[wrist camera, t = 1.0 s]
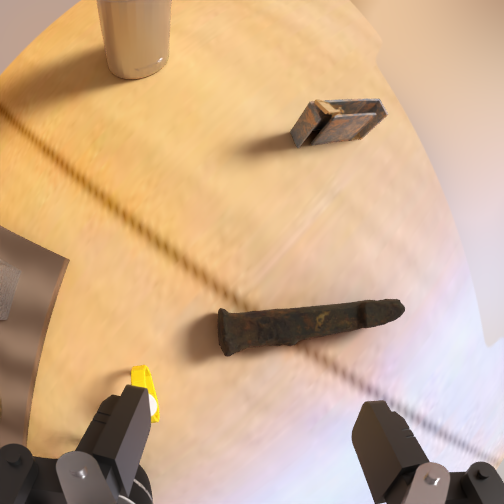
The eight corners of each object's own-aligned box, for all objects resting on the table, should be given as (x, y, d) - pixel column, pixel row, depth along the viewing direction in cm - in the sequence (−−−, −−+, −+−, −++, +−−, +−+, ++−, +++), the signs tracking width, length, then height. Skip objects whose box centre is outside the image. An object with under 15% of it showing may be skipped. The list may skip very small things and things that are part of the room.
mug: (167, 496, 27) (167, 546, 18) (102, 502, 25) (87, 547, 15) (133, 416, 29) (117, 455, 19) (65, 424, 26) (32, 458, 17)
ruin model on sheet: (297, 152, 39) (328, 113, 30) (289, 133, 39) (316, 91, 30) (361, 142, 42) (398, 109, 33) (353, 125, 42) (387, 90, 33)
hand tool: (216, 351, 32) (223, 360, 27) (214, 308, 33) (221, 309, 28) (388, 332, 38) (415, 334, 32) (386, 296, 38) (413, 294, 33)
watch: (129, 363, 30) (119, 374, 24) (154, 359, 31) (148, 370, 25) (143, 413, 29) (136, 433, 23) (166, 410, 30) (164, 430, 24)
